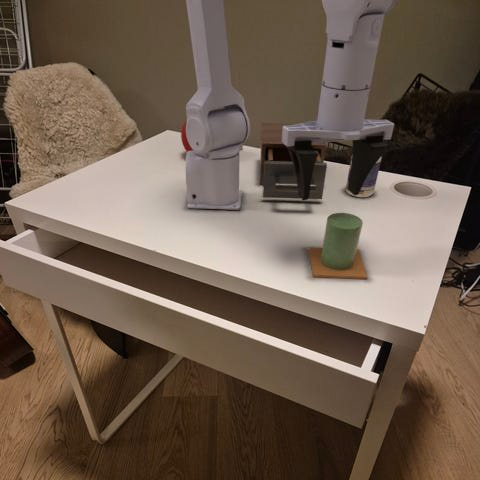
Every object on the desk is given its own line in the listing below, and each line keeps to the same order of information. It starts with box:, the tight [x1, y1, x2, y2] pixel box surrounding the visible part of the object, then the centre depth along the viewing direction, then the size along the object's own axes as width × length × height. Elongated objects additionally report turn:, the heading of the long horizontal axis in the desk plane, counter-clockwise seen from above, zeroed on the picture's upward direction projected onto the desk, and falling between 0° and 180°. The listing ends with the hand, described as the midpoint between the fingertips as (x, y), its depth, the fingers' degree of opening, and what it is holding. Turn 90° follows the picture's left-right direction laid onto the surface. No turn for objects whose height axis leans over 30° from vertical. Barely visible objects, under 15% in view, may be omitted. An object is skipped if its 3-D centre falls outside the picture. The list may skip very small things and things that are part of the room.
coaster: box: [308, 246, 368, 280], centre depth 61 cm, size 8×8×1 cm
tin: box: [321, 212, 364, 270], centre depth 59 cm, size 5×5×6 cm
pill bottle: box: [345, 156, 382, 198], centre depth 78 cm, size 5×5×10 cm
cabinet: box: [259, 122, 327, 186], centre depth 86 cm, size 14×12×8 cm
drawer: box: [262, 147, 328, 200], centre depth 78 cm, size 17×11×6 cm, turn 177°
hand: (328, 194), depth 58 cm, fingers open, 7 cm apart
